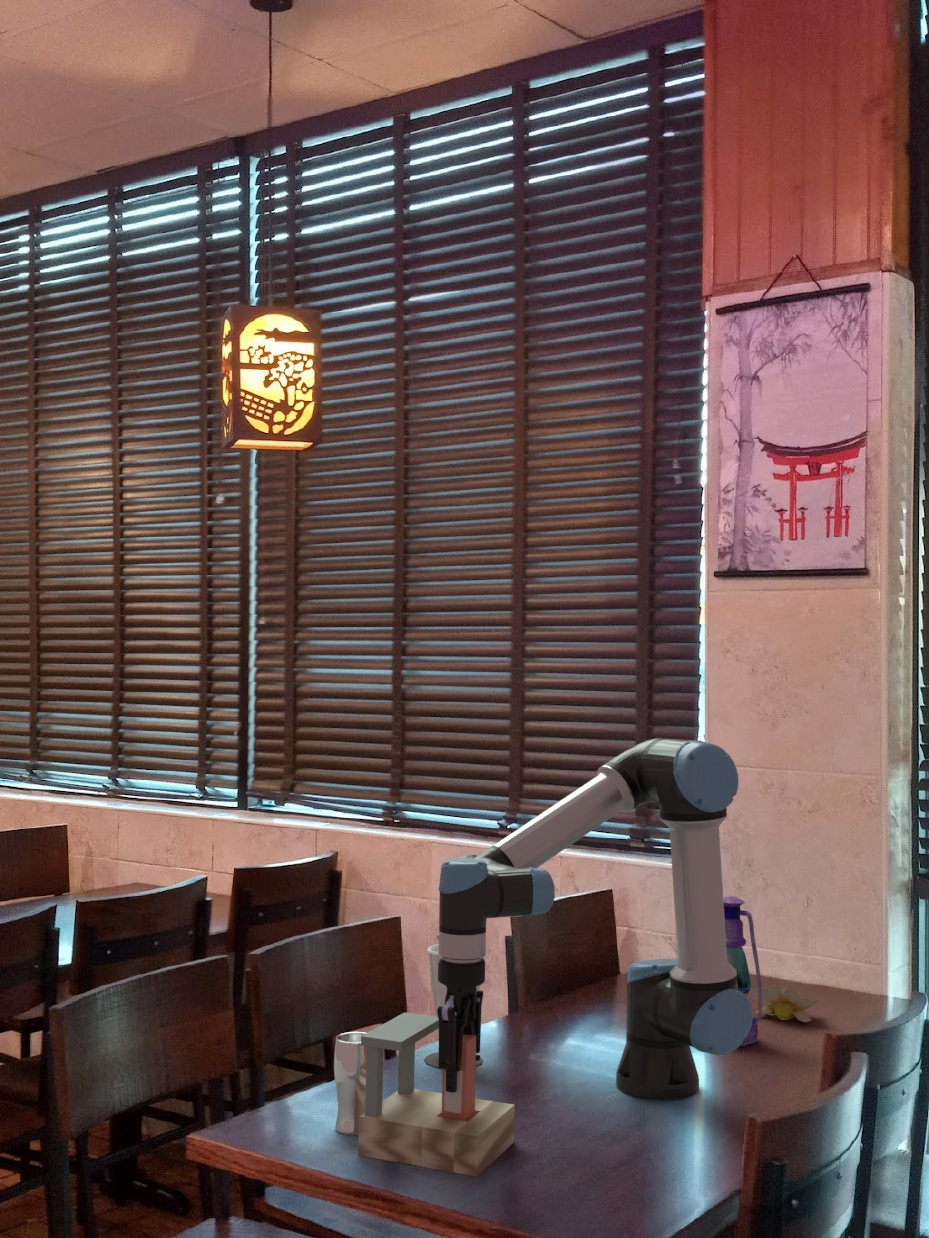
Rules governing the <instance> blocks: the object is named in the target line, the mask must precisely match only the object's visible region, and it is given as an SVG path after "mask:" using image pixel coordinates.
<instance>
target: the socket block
mask: <svg viewBox="0 0 929 1238" xmlns="http://www.w3.org/2000/svg"><path fill="white" fill-rule="evenodd" d="M515 1105H516V1104H514V1103H513V1104H512V1103H505V1102H500V1101H494V1100H487V1099H481V1098H476V1097H475V1116H474V1117H473V1118H472V1119H470V1120H469V1121H468V1122H467V1121H461V1120H455V1119H449V1118H443V1117H442V1092H436V1091H431V1090H430V1091H429V1090H424V1089H423V1090H422V1089H419V1088H414V1091H413V1092H412V1093H410V1094H403V1093H398V1090H396V1091H394V1092H393V1093H392V1094H390V1095H389V1096H388V1097H386V1098H385V1099H382V1113H381V1114H380V1115H378V1116H377V1117H375V1116H369V1115H365V1113H363V1114H362V1115H360V1116H359V1135H358V1147H357V1148H358V1149H357V1150H358V1151H357V1152H358V1153H357V1155H358V1156H360V1157H361V1156H362V1157H366V1158H372V1159H377V1160H378V1159H379V1160H383V1161H388V1162H393V1161H394V1162H393V1163H398V1162H400V1164H404V1163H406V1165H409V1164H412V1165H411V1166H415V1165H417V1166H416V1167H420V1166H421V1167H422V1168H426V1169H433V1170H436V1171H442V1170H443V1172H450V1173H453V1172H455V1174H458V1175H459V1174H460V1175H464V1176H470V1175H471V1176H470V1177H475V1178H477V1177H478V1176H479V1175H480V1174H482V1173H483V1172H484V1171H486V1169H487V1168H488V1167H489V1166H490V1165H491V1164H493V1162H494V1161H495V1160H497V1159H498V1157H500V1156H501V1155H502V1154H503V1153H504V1152H506V1150H507V1149H508V1148H510V1147H511V1146H512V1145H513V1144H514V1143H515V1108H516V1106H515ZM483 1170H484V1171H483Z"/></svg>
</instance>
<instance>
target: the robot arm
mask: <svg viewBox="0 0 929 1238" xmlns="http://www.w3.org/2000/svg"><path fill="white" fill-rule="evenodd" d="M737 769H738V768H737V767H736V764H735V762H734V760H733V759H732V757H731V756H730V754H729V753H727V752H726V751H725V750H724V748H722V747H720V746H718V745H717V744H714V743H709V742H705V741H703V740H694V739H679V738H678V739H677V738H669V737H668V738H667V737H656V738H655V737H654V738H652V739H647V740H645V741H641V742H640V743H638V744H636V745H633V746H632V747H630V748H628V749H625V751H623V752H622V753H620V754H618V755H617V756H614V757H613V758H612V759H610V760H608V761H607V762H605V763H604V764H603V765H601V766H600V767H599V768H598V769H597V771H596V776H595V777H593V778H592V779H591V780H590V779H589V781H588V782H586V783H584V784H583V785H582V786H580V787H579V788H577V789H575V790H574V791H573V792H571V793H569V794H568V795H566V796H565V797H564V798H562V799H560V800H559V801H557V802H556V803H554V804H553V805H552V806H549V808H547V809H546V810H544V811H542V812H541V813H540V814H539V815H536V816H535V817H534V818H532V819H530V820H529V821H527V822H525V824H524V825H523V824H522V826H520V827H519V828H517V829H516V830H514V831H513V832H511V833H509V834H508V835H507V836H505V837H504V838H502V839H500V840H499V841H497V842H496V843H495V844H493V845H492V846H490V847H488V848H487V849H486V850H484V851H483V852H481V853H479V854H478V855H477V854H468V855H462V856H460V857H455V858H449V859H446V860H445V861H444V862H442V864H441V866H440V867H441V868H440V874H439V884H438V885H439V886H438V892H439V902H438V903H439V904H438V905H439V912H438V913H439V914H438V915H439V918H438V921H439V922H438V923H439V927H438V933H437V936H436V939H437V940H438V944H439V955H440V956H441V958H440V959H439V960H438V981H439V982H440V983H441V984H444V985H445V986H446V987H447V992H446V997H445V1006H444V1007H443V1006H439V1007H438V1009H437V1013H438V1019H439V1033H438V1052H439V1068H438V1069H439V1070H442V1071H443V1070H445V1092H444V1111H448V1112H454V1113H461V1112H462V1077H463V1070H460V1064H461V1053H462V1041H463V1034H468V1035H476V1061H479V1060H480V1058H481V1055H479V1054H480V1051H481V1037H482V1036H481V1032H482V1006H483V1005H482V1004H483V999H484V991H483V990H481V989H479V990H476V986H479V985H480V986H482V985H483V984H484V983H485V981H486V961H485V959H484V957H485V956H486V955H487V920H488V919H494V918H495V919H496V918H511V917H525V916H529V917H532V916H535V915H541V914H545V913H547V912H549V911H550V910H551V908H552V907H553V905H554V901H555V896H556V895H555V894H556V893H555V892H556V891H555V887H556V886H555V883H554V880H553V877H552V875H551V874H550V872H549V871H548V870H547V869H545V868H543V867H541V866H542V865H544V864H545V863H546V862H548V861H550V860H551V859H553V858H554V857H556V856H557V855H558V854H560V853H561V852H563V851H564V850H565V849H568V848H569V846H571V845H573V844H575V843H576V842H577V841H579V840H580V839H582V838H583V837H585V836H586V835H588V834H589V833H590V832H591V831H593V830H594V829H597V828H598V827H600V826H601V825H602V824H603V823H605V822H606V821H608V820H609V819H611V818H612V817H614V816H616V815H617V814H618V813H630V812H632V811H633V810H635V809H636V808H638V807H639V806H642V805H644V804H649V803H658V804H659V805H658V807H659V820H660V821H661V822H662V823H664V824H665V826H667V827H668V829H669V837H670V838H669V839H670V841H669V842H670V855H671V857H670V858H671V870H672V872H671V873H672V888H673V890H672V891H673V903H674V904H673V905H674V919H675V920H674V921H675V939H676V951H677V959H673V958H671V959H668V958H664V959H663V958H661V959H644V960H639V961H635V962H633V963H631V964H630V965H629V966H628V970H627V978H626V982H625V984H626V1036H625V1037H626V1039H625V1040H626V1041H625V1045H624V1048H623V1052H622V1054H621V1058H620V1060H619V1064H618V1067H617V1069H616V1073H615V1077H616V1078H615V1086H616V1087H617V1088H618V1089H619V1090H621V1091H622V1092H623V1093H626V1094H629V1095H631V1096H633V1097H634V1096H635V1097H639V1098H643V1099H650V1100H651V1099H652V1100H662V1101H664V1100H667V1101H670V1100H681V1099H686V1098H690V1097H693V1096H695V1095H696V1094H698V1093H699V1091H700V1076H699V1073H698V1070H697V1065H696V1063H695V1059H694V1057H693V1053H692V1049H691V1047H693V1048H694V1049H695V1050H697V1051H699V1052H701V1053H707V1054H711V1055H713V1056H722V1055H723V1056H725V1055H727V1054H730V1053H732V1052H734V1051H735V1050H737V1049H739V1047H741V1046H740V1045H741V1044H742V1042H743V1040H744V1038H746V1037H747V1035H748V1033H749V1031H750V1029H751V1025H752V1020H753V1017H754V1012H753V1011H754V1010H753V1006H752V1004H751V1001H750V999H749V998H748V997H747V996H745V995H744V994H743V992H740V991H739V990H738V984H737V972H736V970H735V969H734V968H733V967H732V966H731V965H730V964H729V963H728V962H727V949H726V933H725V917H724V901H723V898H724V887H723V872H722V857H721V855H722V854H721V843H720V842H721V839H720V827H721V824H722V823H723V822H725V820H726V819H727V818H728V813H727V812H728V811H727V810H728V809H727V808H728V807H729V806H730V805H731V804H732V803H733V801H734V797H735V796H736V795H737V793H738V790H739V773H738V770H737Z"/></svg>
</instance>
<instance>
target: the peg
mask: <svg viewBox="0 0 929 1238" xmlns="http://www.w3.org/2000/svg"><path fill="white" fill-rule="evenodd" d="M476 1055H477V1053H476V1035H468V1034H463V1041H462V1053H461V1064H460V1070H463V1077H462V1112H461V1113H454V1112H448V1111H444V1092H445V1070H443V1069H442V1075H441V1076H442V1081H441V1090H442V1091H441V1093H442V1117H443V1118H449V1119H455V1120H461V1121H467V1122H468V1121H469V1120H470V1119H472V1118H473V1117H474V1116H475V1098H476V1074H477V1073H476V1072H477V1071H476V1068H477V1067H476Z"/></svg>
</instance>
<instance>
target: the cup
mask: <svg viewBox="0 0 929 1238" xmlns="http://www.w3.org/2000/svg"><path fill="white" fill-rule="evenodd" d="M426 952H427V954H428V964H429V973H430V975H429V976H430V977H429V978H430V986H431V993H432V999H433V1000H432V1002H433V1008H434V1009H433V1010H434V1016H435V1017H438V1013H437V1009H438V1007H439V1006H443V1007H444V1006H445V997H446V992H447V987H446V986H445V985H444V984H441V983H440V982H439V981H438V960H439V959H440V958H441V956H440V955H439V943H437V944H433V945H430V946H428V948H427V949H426ZM480 987H481V985H479V986H476V990H480ZM437 1032H438V1034H439V1028H438V1029H437ZM423 1061H424V1062H425V1064H426V1065H428V1066H430V1067H432V1068H437V1069H439V1051H438V1052H432V1053H430V1054H428V1055H426V1056H425V1058H424V1059H423ZM483 1062H484V1060H483V1059H482V1057H480V1060H479V1061H476V1068H477V1067H479V1066H481V1065H482V1064H483Z"/></svg>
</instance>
